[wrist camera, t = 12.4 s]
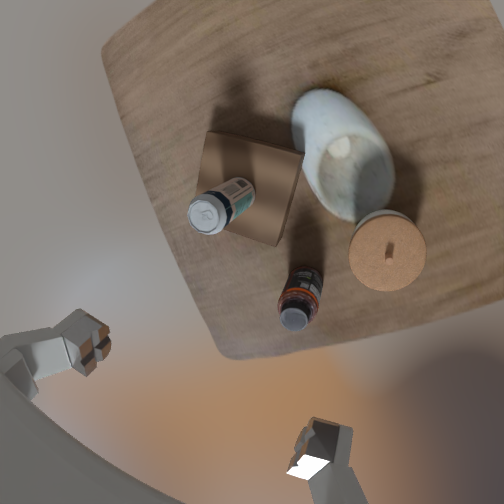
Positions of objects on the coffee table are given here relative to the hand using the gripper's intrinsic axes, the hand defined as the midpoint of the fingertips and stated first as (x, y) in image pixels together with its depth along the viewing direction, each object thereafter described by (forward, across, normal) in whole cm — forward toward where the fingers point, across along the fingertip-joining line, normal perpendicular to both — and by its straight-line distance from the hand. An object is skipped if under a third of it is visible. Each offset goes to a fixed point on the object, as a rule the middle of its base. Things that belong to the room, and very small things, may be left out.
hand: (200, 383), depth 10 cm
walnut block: (+38, +10, +4) cm, 40 cm away
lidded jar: (+39, -12, +5) cm, 41 cm away
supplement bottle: (+39, -3, +17) cm, 42 cm away
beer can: (+35, +10, +4) cm, 36 cm away
